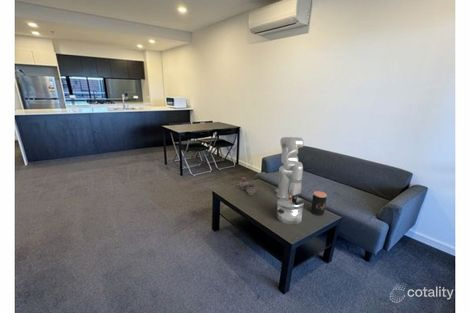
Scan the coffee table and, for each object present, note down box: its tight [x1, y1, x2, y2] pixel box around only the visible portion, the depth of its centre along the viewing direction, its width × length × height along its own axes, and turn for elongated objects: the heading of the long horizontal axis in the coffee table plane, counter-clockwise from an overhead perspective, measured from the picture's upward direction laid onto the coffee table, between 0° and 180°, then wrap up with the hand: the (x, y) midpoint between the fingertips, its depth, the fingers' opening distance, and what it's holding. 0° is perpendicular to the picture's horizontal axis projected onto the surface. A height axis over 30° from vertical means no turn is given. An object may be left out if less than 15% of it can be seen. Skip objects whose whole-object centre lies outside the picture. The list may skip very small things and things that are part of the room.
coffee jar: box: [310, 190, 328, 216], centre depth 189 cm, size 11×11×18 cm
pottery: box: [238, 176, 258, 196], centre depth 228 cm, size 11×25×12 cm, turn 31°
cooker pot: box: [276, 201, 304, 226], centre depth 181 cm, size 21×26×12 cm
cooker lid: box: [277, 194, 305, 208], centre depth 178 cm, size 21×21×3 cm
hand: (294, 202), depth 175 cm, fingers closed
